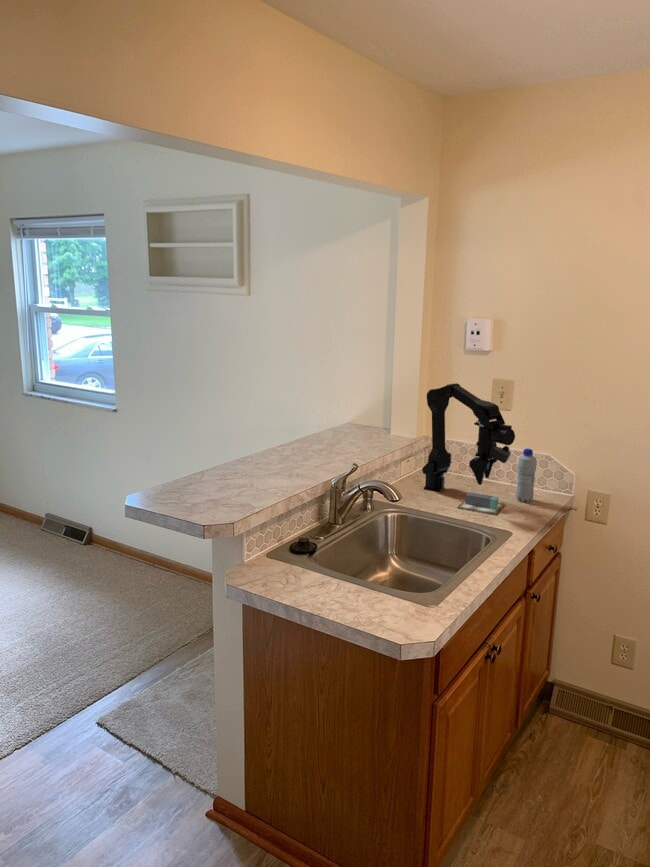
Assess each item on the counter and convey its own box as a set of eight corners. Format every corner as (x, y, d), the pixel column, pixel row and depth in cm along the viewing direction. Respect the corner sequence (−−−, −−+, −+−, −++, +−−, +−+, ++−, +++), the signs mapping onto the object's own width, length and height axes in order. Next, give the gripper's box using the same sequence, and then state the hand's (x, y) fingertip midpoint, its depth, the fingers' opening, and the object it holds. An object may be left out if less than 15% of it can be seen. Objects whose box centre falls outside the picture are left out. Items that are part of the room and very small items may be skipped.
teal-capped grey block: (465, 503, 244) (465, 494, 243) (468, 501, 247) (468, 492, 246) (495, 509, 238) (495, 500, 238) (497, 506, 241) (498, 497, 241)
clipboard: (457, 508, 241) (457, 505, 241) (467, 498, 251) (467, 495, 251) (496, 515, 234) (496, 512, 234) (504, 505, 245) (504, 502, 244)
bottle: (512, 501, 248) (517, 449, 244) (516, 496, 254) (521, 445, 249) (531, 504, 245) (536, 452, 241) (534, 499, 251) (539, 447, 246)
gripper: (502, 448, 225) (499, 492, 228) (515, 436, 241) (512, 477, 244) (470, 444, 230) (467, 487, 234) (485, 432, 246) (482, 473, 249)
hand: (483, 481), depth 240 cm, fingers open, 9 cm apart
